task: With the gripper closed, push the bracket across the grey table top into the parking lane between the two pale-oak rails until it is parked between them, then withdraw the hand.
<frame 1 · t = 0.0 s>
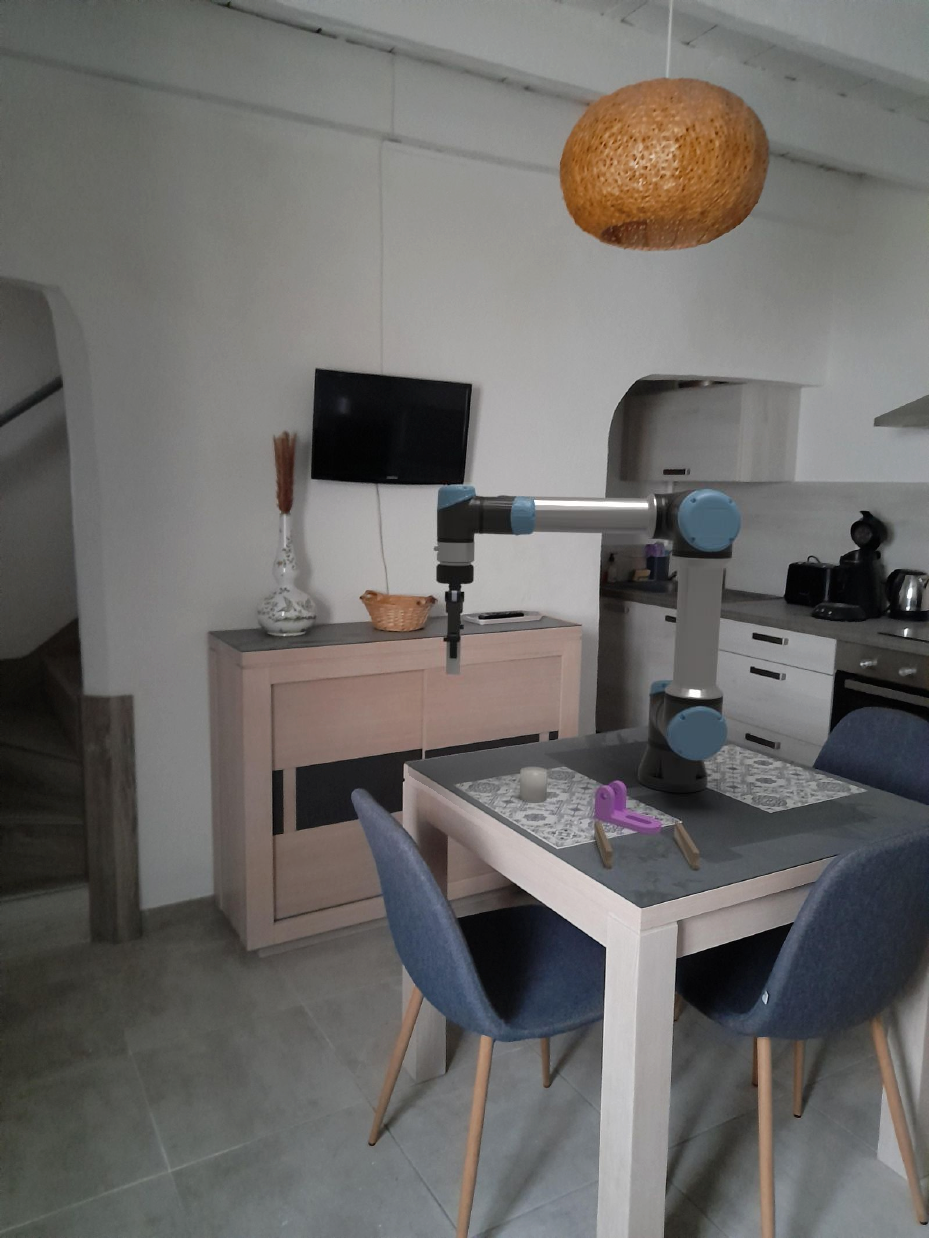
hand: (453, 667, 180), 28 cm above the table, fingers open, 13 cm apart
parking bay: (644, 852, 159), on the table
white pillar candle: (533, 798, 186), on the table
bracket: (629, 824, 173), on the table
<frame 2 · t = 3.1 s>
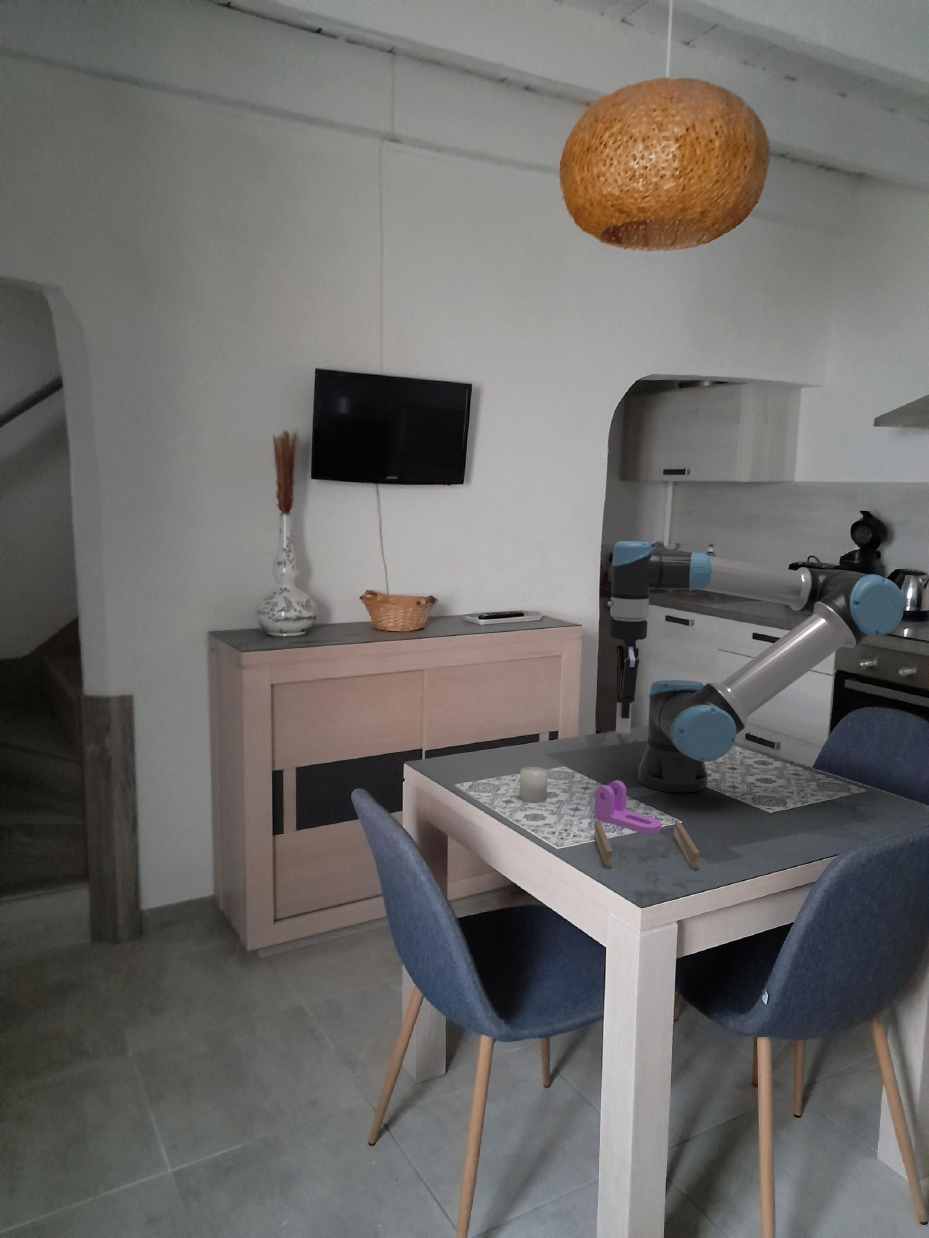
hand: (623, 732, 181), 15 cm above the table, fingers closed
nothing on the table moved.
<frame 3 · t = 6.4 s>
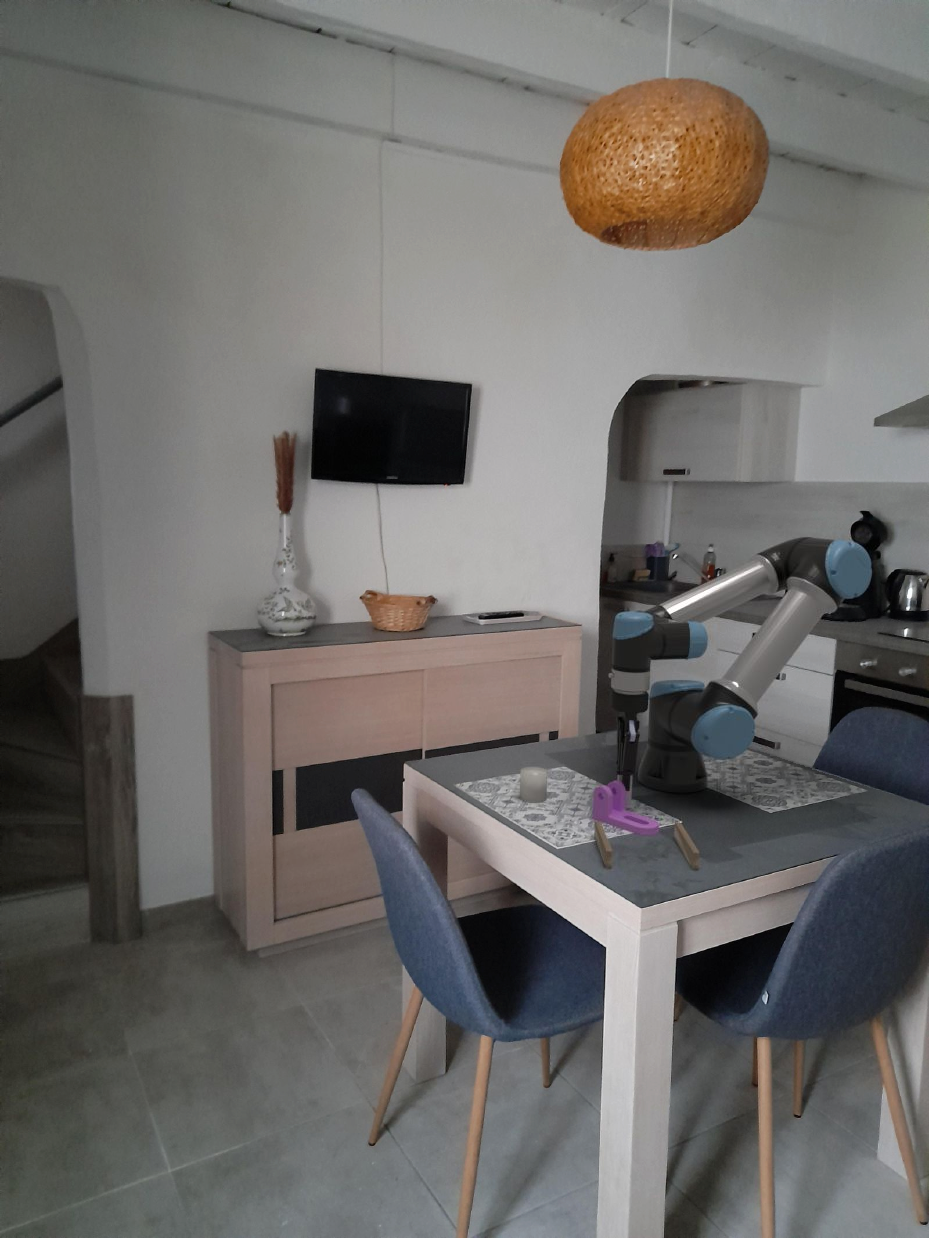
hand: (623, 804, 179), 2 cm above the table, fingers closed
bracket: (627, 825, 172), on the table, touching gripper
everything else where it was.
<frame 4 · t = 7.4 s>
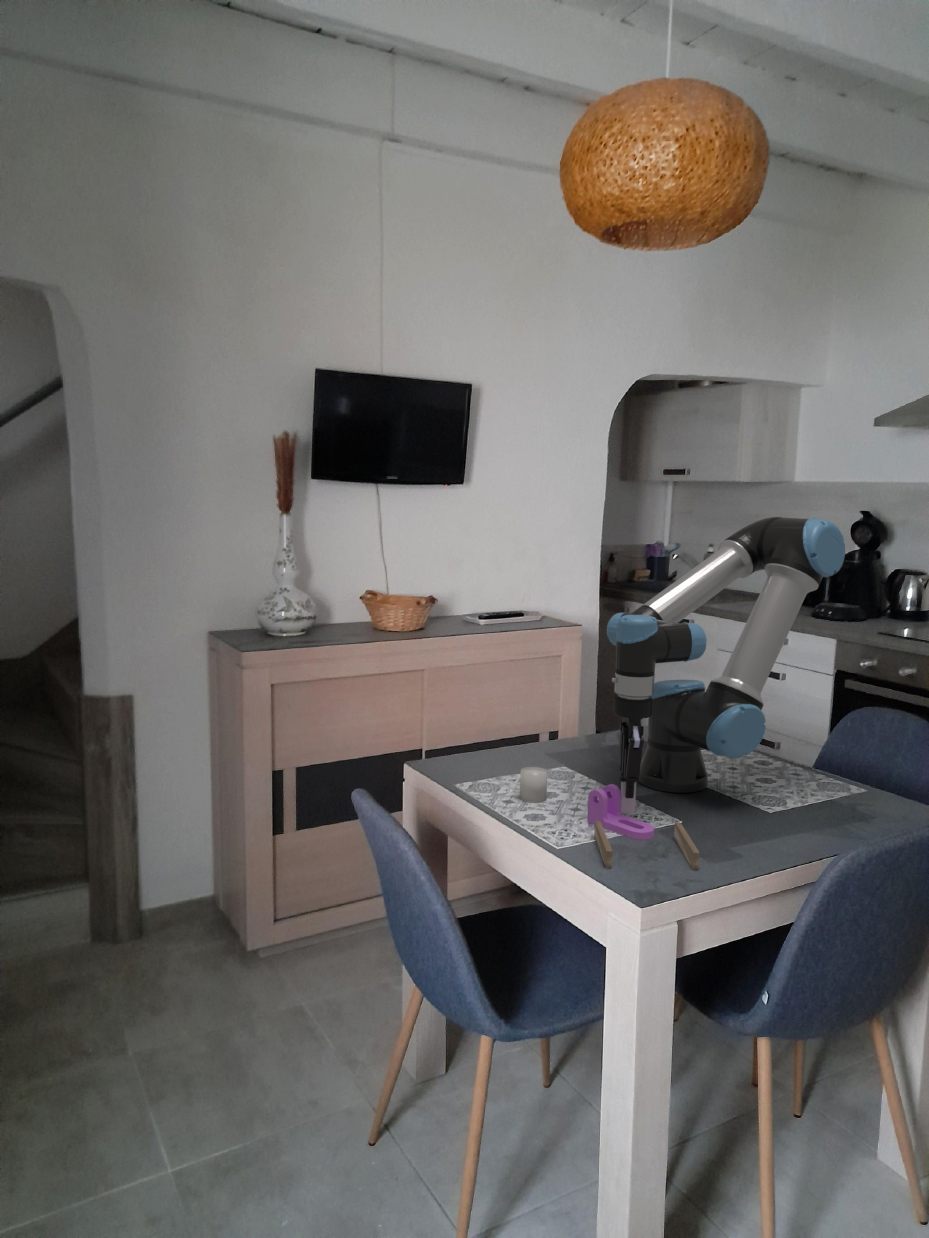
hand: (627, 811, 175), 2 cm above the table, fingers closed
bracket: (622, 829, 170), on the table
everything else where it was.
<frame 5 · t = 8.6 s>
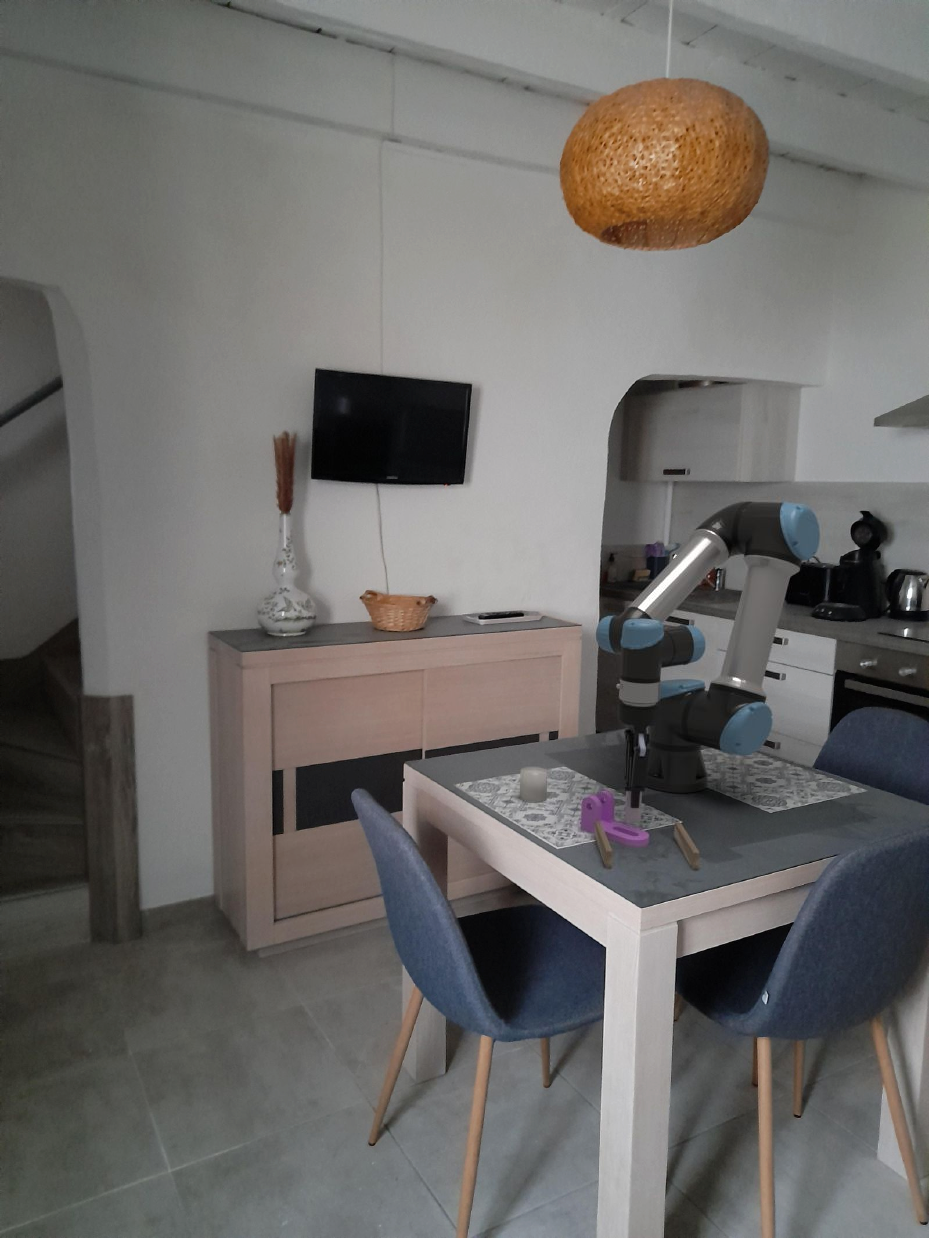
hand: (632, 821, 169), 2 cm above the table, fingers closed
bracket: (616, 836, 167), on the table, touching gripper
everything else where it was.
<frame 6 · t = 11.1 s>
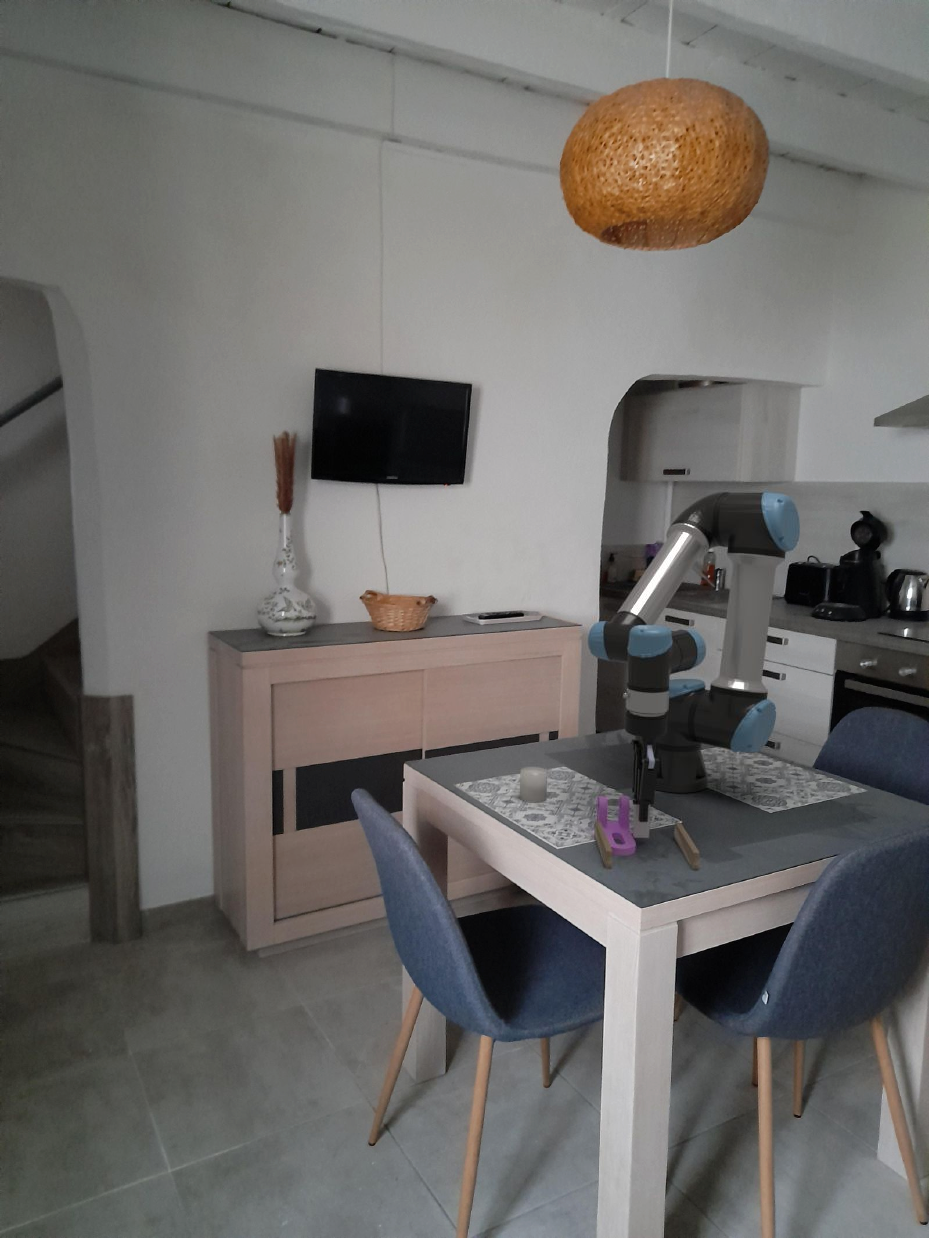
hand: (640, 835, 163), 1 cm above the table, fingers closed
bracket: (616, 842, 164), on the table, touching gripper
everything else where it was.
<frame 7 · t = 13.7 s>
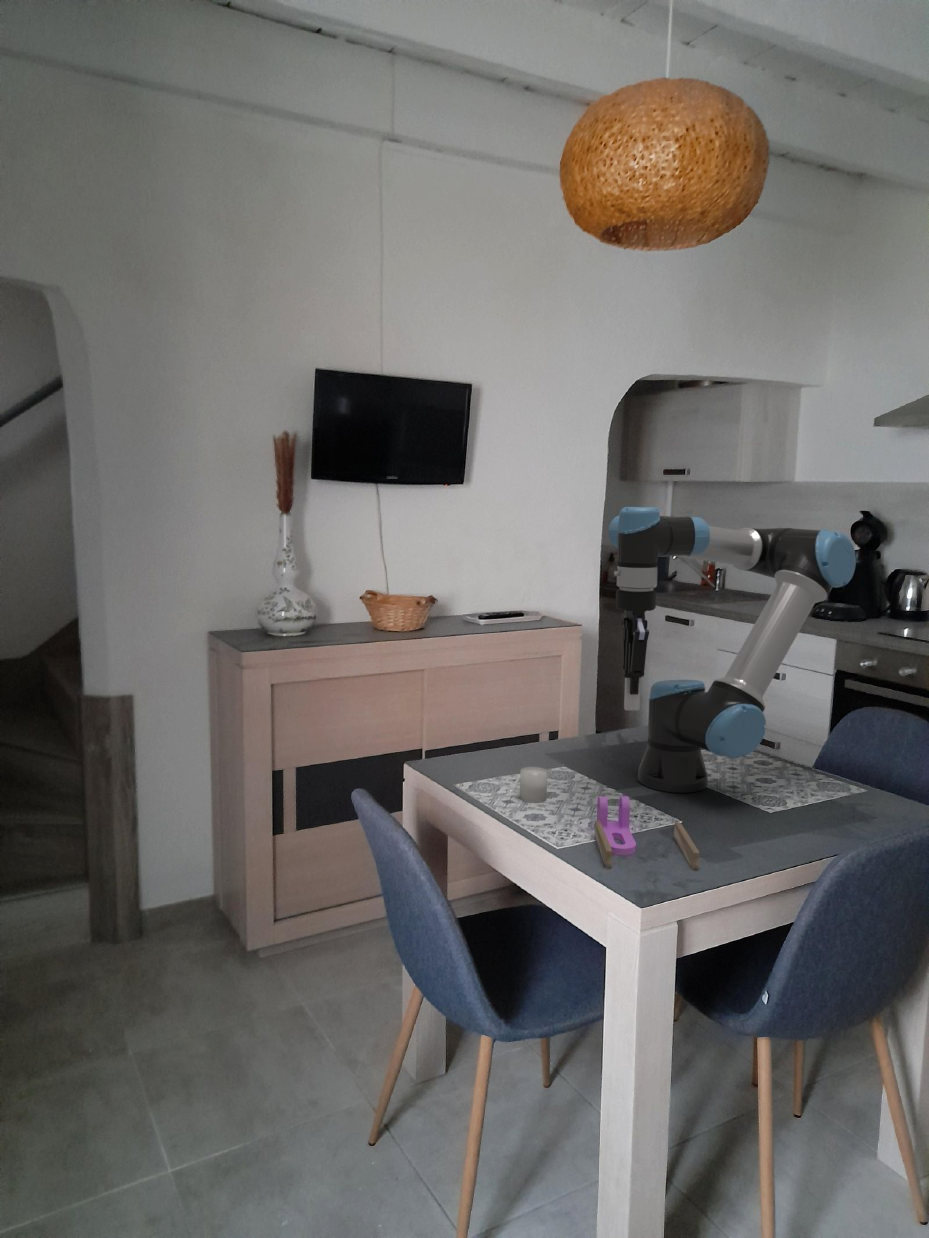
hand: (631, 709, 172), 22 cm above the table, fingers closed
bracket: (616, 842, 164), on the table
everything else where it was.
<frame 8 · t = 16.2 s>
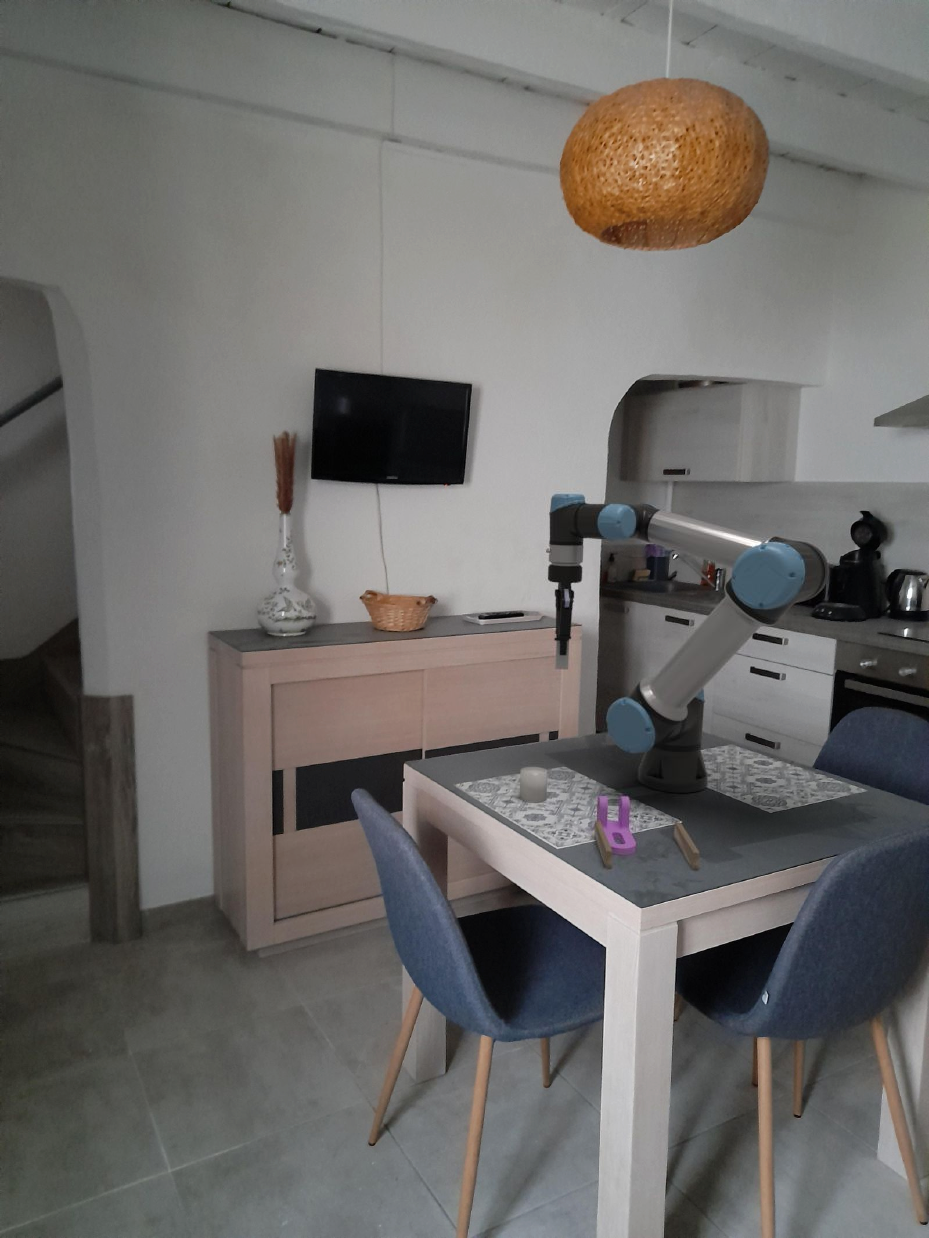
hand: (561, 668, 199), 24 cm above the table, fingers closed
nothing on the table moved.
at the end: bracket inside the target area (6.5 cm from its centre), on the table; bracket tilted 0°; white pillar candle moved 0.1 cm from its start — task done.
